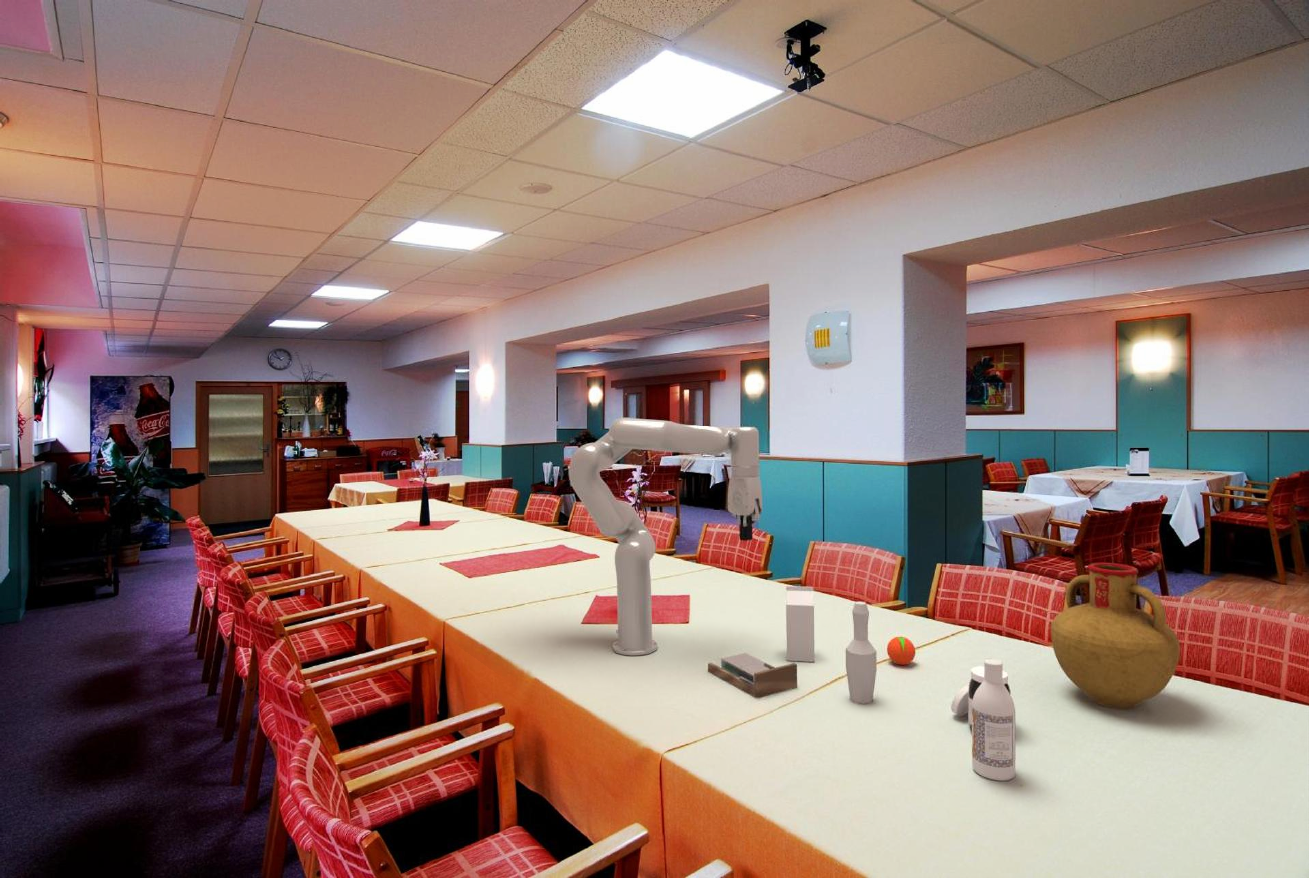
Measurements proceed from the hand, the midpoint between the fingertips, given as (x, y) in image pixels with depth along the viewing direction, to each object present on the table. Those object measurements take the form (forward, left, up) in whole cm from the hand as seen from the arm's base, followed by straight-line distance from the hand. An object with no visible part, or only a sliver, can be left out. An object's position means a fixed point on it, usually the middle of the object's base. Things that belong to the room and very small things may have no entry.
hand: (746, 539), depth 186 cm
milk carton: (+10, +10, -31) cm, 34 cm away
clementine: (+28, +28, -31) cm, 51 cm away
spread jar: (+60, +14, -31) cm, 69 cm away
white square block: (+18, -10, -32) cm, 38 cm away
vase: (+68, +49, -31) cm, 89 cm away
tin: (+10, -10, -32) cm, 35 cm away
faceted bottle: (+38, +3, -31) cm, 49 cm away
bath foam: (+73, -1, -31) cm, 79 cm away
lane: (+14, -11, -31) cm, 36 cm away
